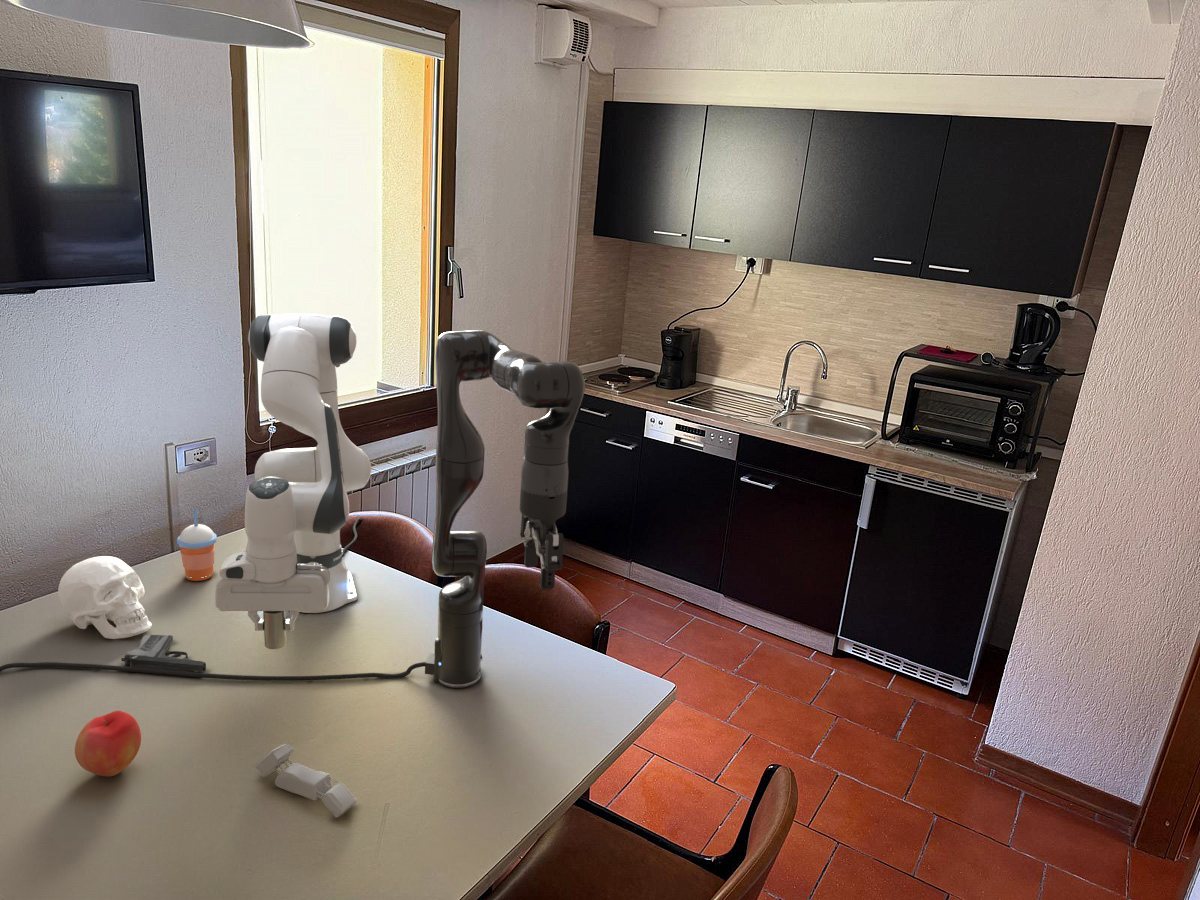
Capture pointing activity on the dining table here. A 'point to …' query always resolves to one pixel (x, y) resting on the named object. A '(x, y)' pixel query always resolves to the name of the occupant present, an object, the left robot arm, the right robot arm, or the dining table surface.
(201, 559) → the cup with straw
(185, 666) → the handgun
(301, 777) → the white segmented block
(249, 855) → the dining table surface
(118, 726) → the apple
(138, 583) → the skull
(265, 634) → the tin
